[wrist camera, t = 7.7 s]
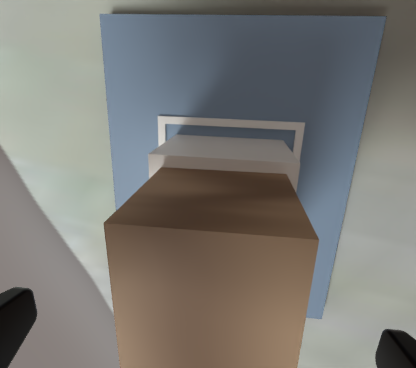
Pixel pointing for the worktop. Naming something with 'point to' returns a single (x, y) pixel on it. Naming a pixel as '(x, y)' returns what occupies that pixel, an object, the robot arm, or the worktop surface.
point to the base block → (225, 155)
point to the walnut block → (211, 271)
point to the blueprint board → (246, 99)
